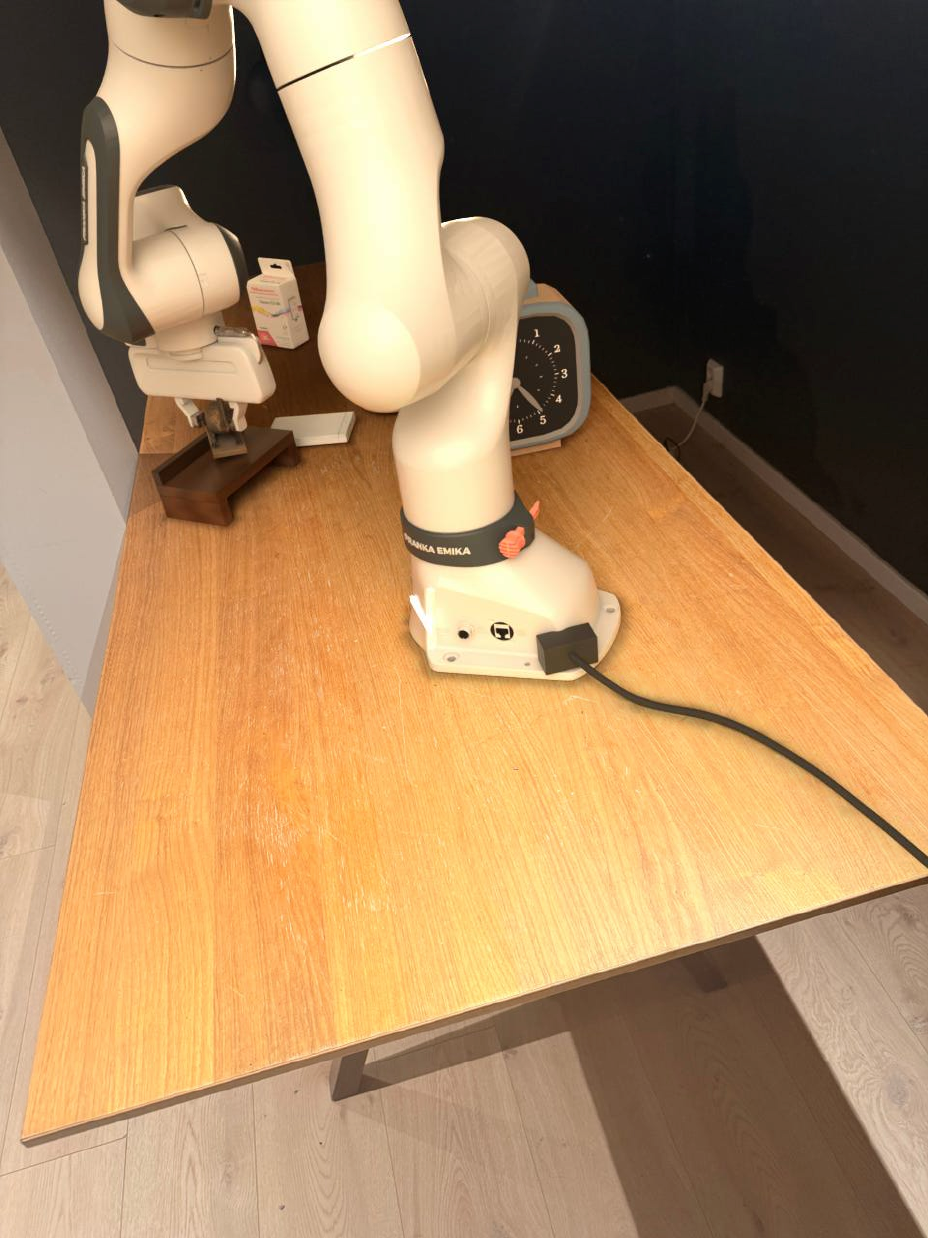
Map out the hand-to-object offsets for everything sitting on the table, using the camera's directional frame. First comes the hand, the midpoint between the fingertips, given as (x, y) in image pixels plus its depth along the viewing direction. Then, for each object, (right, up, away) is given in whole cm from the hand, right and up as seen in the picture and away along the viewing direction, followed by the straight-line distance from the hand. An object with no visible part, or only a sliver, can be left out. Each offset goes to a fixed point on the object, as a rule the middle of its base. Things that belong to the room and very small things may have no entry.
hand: (218, 427), depth 126 cm
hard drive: (+10, +2, +17) cm, 20 cm away
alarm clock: (+40, -1, +7) cm, 40 cm away
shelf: (+1, -7, +6) cm, 10 cm away
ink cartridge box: (-1, +26, +51) cm, 57 cm away
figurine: (+1, -2, +2) cm, 3 cm away
